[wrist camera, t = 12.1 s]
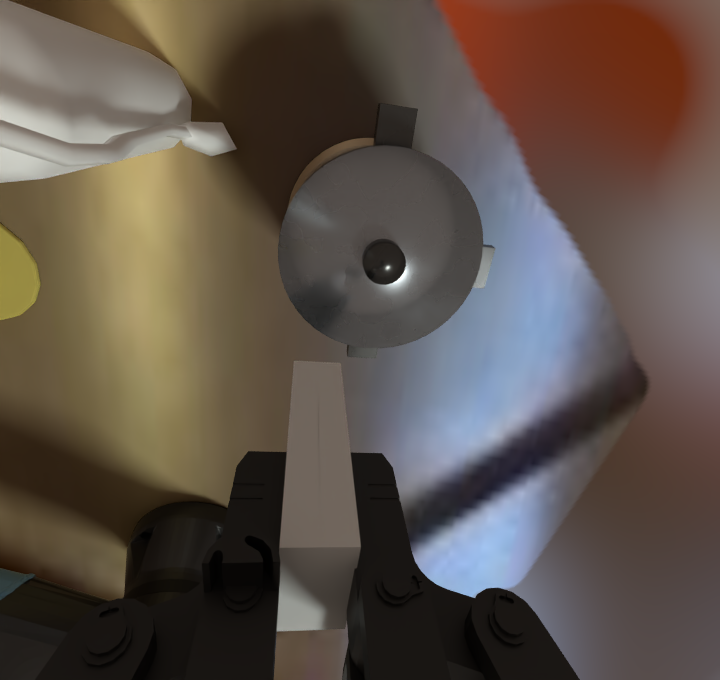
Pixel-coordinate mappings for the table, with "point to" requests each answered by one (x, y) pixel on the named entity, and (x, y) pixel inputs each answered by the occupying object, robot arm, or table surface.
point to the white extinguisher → (86, 100)
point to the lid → (381, 247)
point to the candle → (16, 276)
